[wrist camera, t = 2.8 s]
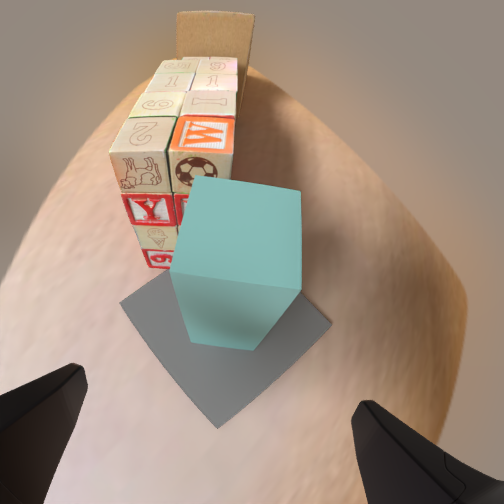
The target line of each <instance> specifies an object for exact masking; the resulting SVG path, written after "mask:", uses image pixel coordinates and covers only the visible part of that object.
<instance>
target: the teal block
mask: <svg viewBox="0 0 504 504" xmlns="http://www.w3.org/2000/svg"><path fill="white" fill-rule="evenodd" d="M169 272H170V276H171V279H172V283H173V286H174V290H175V293H176V297H177V300H178V303H179V307H180V310H181V313H182V316H183V319H184V322H185V326H186V329H187V332H188V335H189V338H190V341H191V342H192V343H198V344H205V345H212V346H219V347H227V348H235V349H243V350H252V351H254V349H255V348H256V347H257V346H258V345H259V343H260V342H261V341H262V340H263V338H264V337H265V336H266V335H267V333H268V332H269V331H270V330H271V328H272V327H273V326H274V325H275V323H276V322H277V321H278V320H279V318H280V317H281V316H282V314H283V313H284V312H285V311H286V309H287V308H288V307H289V305H290V304H291V303H292V301H293V300H294V299H295V298H296V296H297V295H298V294H299V292H300V291H301V284H302V230H301V191H297V190H292V189H286V188H280V187H274V186H268V185H262V184H256V183H250V182H243V181H236V180H229V179H222V178H214V177H207V176H198V175H195V178H194V181H193V184H192V188H191V191H190V194H189V198H188V201H187V205H186V208H185V212H184V216H183V219H182V223H181V227H180V230H179V234H178V238H177V242H176V246H175V250H174V254H173V258H172V262H171V266H170V270H169Z"/></svg>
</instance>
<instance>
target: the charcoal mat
mask: <svg viewBox="0 0 504 504" xmlns="http://www.w3.org/2000/svg"><path fill="white" fill-rule="evenodd" d="M169 270H170V269H167V270H166V271H164V272H163V273H161V274H160V275H159V276H157V277H156V278H154V279H153V280H151V281H150V282H148V283H147V284H145V285H144V286H143V287H141V288H140V289H138V290H137V291H135V292H134V293H133V294H131V295H130V296H128V297H127V298H125V299H124V300H123V301H121V302H120V305H121V307H122V308H123V310H124V311H125V313H126V314H127V316H128V317H129V319H130V320H131V322H132V323H133V325H134V326H135V328H136V329H137V331H138V332H139V334H140V335H141V336H142V338H143V339H144V341H145V342H146V343H147V345H148V346H149V348H150V349H151V350H152V352H153V353H154V354H155V356H156V357H157V358H158V360H159V361H160V362H161V364H162V365H163V366H164V368H165V369H166V370H167V371H168V373H169V374H170V375H171V376H172V378H173V379H174V380H175V381H176V383H177V384H178V385H179V386H180V388H181V389H182V390H183V391H184V392H185V394H186V395H187V396H188V397H189V398H190V399H191V401H192V402H193V403H194V404H195V405H196V406H197V407H198V409H199V410H200V411H201V412H202V413H203V414H204V415H205V416H206V417H207V419H208V420H209V421H210V422H211V423H212V424H213V425H214V426H215V427H216V428H217V429H218V428H219V427H221V426H222V425H223V424H224V423H226V422H227V421H228V420H229V419H231V418H232V417H233V416H234V415H236V414H237V413H238V412H239V411H241V410H242V409H243V408H244V407H245V406H247V405H248V404H249V403H250V402H251V401H252V400H254V399H255V398H256V397H257V396H258V395H259V394H261V393H262V392H263V391H264V390H265V389H266V388H267V387H269V386H270V385H271V384H272V383H273V382H274V381H275V380H276V379H277V378H279V377H280V376H281V375H282V374H283V373H284V372H285V371H286V370H287V369H288V368H289V367H290V366H292V365H293V364H294V363H295V362H296V361H297V360H298V359H299V358H300V357H301V356H302V355H303V354H304V353H305V352H306V351H307V350H308V349H309V348H310V347H311V346H312V345H313V344H314V343H315V342H316V341H317V340H318V339H319V338H320V337H321V336H322V335H323V334H324V333H325V332H326V331H327V330H328V329H329V328H330V327H331V326H332V324H331V323H330V322H329V321H328V320H327V319H326V318H325V317H324V316H323V315H322V314H321V313H320V312H319V311H318V310H317V309H316V308H315V307H314V306H313V305H312V304H311V303H310V302H309V301H308V300H307V298H306V297H305V296H304V295H303V294H302V293H301V292H299V294H298V295H297V296H296V298H295V299H294V300H293V301H292V303H291V304H290V305H289V307H288V308H287V309H286V311H285V312H284V313H283V314H282V316H281V317H280V318H279V320H278V321H277V322H276V323H275V325H274V326H273V327H272V328H271V330H270V331H269V332H268V333H267V335H266V336H265V337H264V338H263V340H262V341H261V342H260V343H259V345H258V346H257V347H256V348H255V349H254V351H252V350H243V349H235V348H227V347H219V346H212V345H205V344H198V343H192V342H191V341H190V338H189V335H188V332H187V329H186V326H185V322H184V319H183V316H182V313H181V310H180V307H179V303H178V300H177V297H176V293H175V290H174V286H173V283H172V279H171V276H170V272H169Z"/></svg>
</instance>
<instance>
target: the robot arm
mask: <svg viewBox="0 0 504 504" xmlns="http://www.w3.org/2000/svg"><path fill="white" fill-rule="evenodd" d="M87 389H88V384H87V379H86V375H85V370H84V368H83V366H81V365H78V364H75V363H70V364H68V365H66V366H64V367H61V368H59V369H57V370H55V371H53V372H51V373H49V374H46V375H44V376H42V377H40V378H38V379H36V380H33V381H31V382H29V383H27V384H25V385H22V386H20V387H18V388H16V389H14V390H11V391H9V392H7V393H5V394H2V395H0V504H43V503H44V500H45V498H46V495H47V492H48V489H49V487H50V484H51V482H52V479H53V477H54V474H55V472H56V469H57V467H58V464H59V462H60V459H61V457H62V455H63V452H64V450H65V448H66V446H67V443H68V441H69V439H70V437H71V434H72V432H73V430H74V428H75V425H76V422H77V419H78V416H79V413H80V410H81V407H82V404H83V401H84V398H85V395H86V393H87ZM351 424H352V430H353V437H354V444H355V451H356V457H357V462H358V466H359V470H360V474H361V477H362V481H363V485H364V489H365V493H366V497H367V501H368V504H504V481H500V480H496V479H494V478H492V477H490V476H487V475H485V474H483V473H481V472H479V471H477V470H475V469H473V468H471V467H470V466H468V465H466V464H464V463H462V462H460V461H459V460H457V459H456V458H454V457H453V456H451V455H450V454H448V453H446V452H444V451H443V450H442V449H441V448H439V447H438V446H436V445H435V444H433V443H432V442H430V441H429V440H427V439H426V438H425V437H423V436H422V435H420V434H419V433H417V432H416V431H415V430H413V429H412V428H410V427H409V426H408V425H406V424H405V423H403V422H402V421H401V420H399V419H398V418H396V417H395V416H394V415H392V414H391V413H390V412H388V411H387V410H386V409H384V408H383V407H381V406H380V405H379V404H377V403H376V402H375V401H373V400H363V401H361V402H360V403H359V405H358V407H357V409H356V410H355V412H354V414H353V416H352V420H351Z"/></svg>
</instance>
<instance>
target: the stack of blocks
mask: <svg viewBox="0 0 504 504" xmlns="http://www.w3.org/2000/svg"><path fill="white" fill-rule="evenodd" d="M237 59H238V58H231V57H183V58H182V60H166V61H163V62H162V63H161V65H160V66H159V68H158V69H157V71H156V72H155V75H154V76H153V78H152V79H151V81H150V83H149V84H148V86H147V87H146V89H145V92H144V93H143V94H141V96H140V97H139V99H138V101H137V102H136V104H135V106H134V107H133V109H132V111H131V113H130V115H129V116H128V119H126V120H125V122H124V123H123V125H122V127H121V129H120V130H119V132H118V134H117V136H116V138H115V140H114V141H113V143H112V145H111V147H110V150H109V155H110V159H111V163H112V166H113V168H114V172H115V175H116V178H117V181H118V184H119V187H120V189H121V197H122V200H123V203H124V206H125V208H126V212H127V214H128V217H129V219H130V222H131V224H132V225H133V228H134V230H135V233H136V235H137V238H138V241H139V243H140V246H141V250H142V252H143V255H144V257H145V259H146V262H147V265H148V266H149V267H150V268H162V269H170V266H171V262H172V258H173V254H174V250H175V246H176V242H177V238H178V234H179V230H180V227H181V223H182V219H183V216H184V212H185V208H186V205H187V201H188V198H189V194H190V191H191V188H192V184H193V181H194V178H195V175H198V176H207V177H214V178H222V179H229V180H230V178H231V170H232V162H233V151H234V129H235V120H236V99H237V92H238V76H237V75H238V68H237V62H238V61H237Z"/></svg>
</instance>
